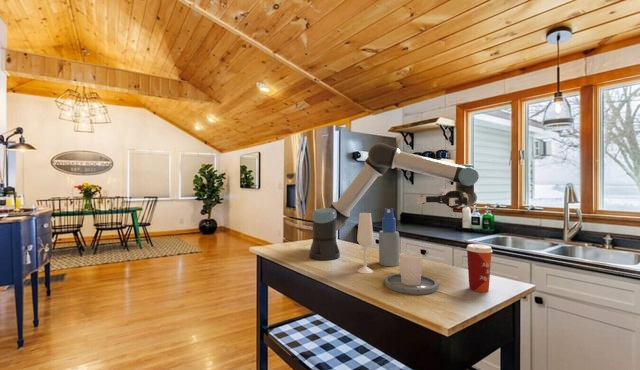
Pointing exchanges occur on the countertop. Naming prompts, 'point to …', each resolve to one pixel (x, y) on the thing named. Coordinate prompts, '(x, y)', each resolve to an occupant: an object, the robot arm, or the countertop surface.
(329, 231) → the robot arm
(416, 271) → the white cup
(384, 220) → the spray bottle
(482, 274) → the coffee cup
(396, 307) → the countertop surface
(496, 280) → the countertop surface
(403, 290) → the plate
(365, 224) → the champagne flute
